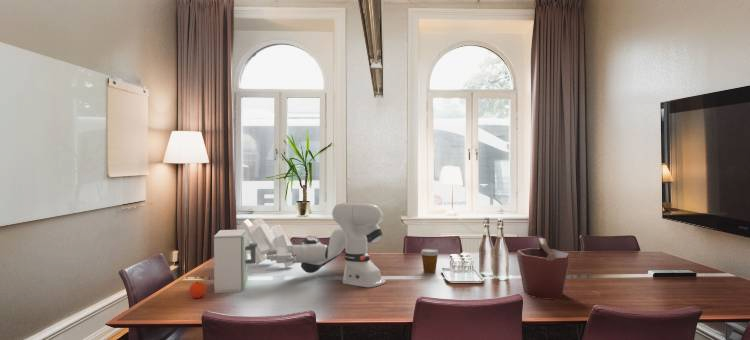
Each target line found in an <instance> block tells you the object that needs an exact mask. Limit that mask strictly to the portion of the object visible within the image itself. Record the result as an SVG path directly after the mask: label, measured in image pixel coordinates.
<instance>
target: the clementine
mask: <svg viewBox="0 0 750 340" xmlns="http://www.w3.org/2000/svg"><path fill="white" fill-rule="evenodd" d="M207 285H208V284H207V283H206V282H203V281H196V282H193V283H192V284H191V285H190V287H189V289H188V290H189V291H188V292H189V294H190V295H189V296H191V297H192V298H194V299H195V298H196V299H199V298H202V297H203V296H204V295H205V294H206V292H207V287H206V286H207Z"/></svg>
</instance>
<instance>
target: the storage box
mask: <svg viewBox="0 0 750 340" xmlns="http://www.w3.org/2000/svg"><path fill="white" fill-rule="evenodd" d="M244 232H245V229H220V230H219V231H218V232H217V233H216V234H214V235H213V273H214V274H213V280H214V281H213V282H214V283H213V287H214V288H213V289H214V291H213V292H214V294H216V293H217V294H219V293H235V292H239V293H240V292H242V291H243V290H242V235H243V234H244Z"/></svg>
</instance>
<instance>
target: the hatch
mask: <svg viewBox="0 0 750 340" xmlns="http://www.w3.org/2000/svg"><path fill="white" fill-rule="evenodd" d="M256 247H257V243H250V244H249V246H247V230H246V231H245V232H244V234H243V235H242V291H243V290H245V288H246V284H247V282H248V278H249V277H248V276H249V275H248V274H249V273H248V271H249V269H248V268H249V267H248V264H256ZM249 250H251V256H250V259H248V256H249V255H248V253H249Z"/></svg>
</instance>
